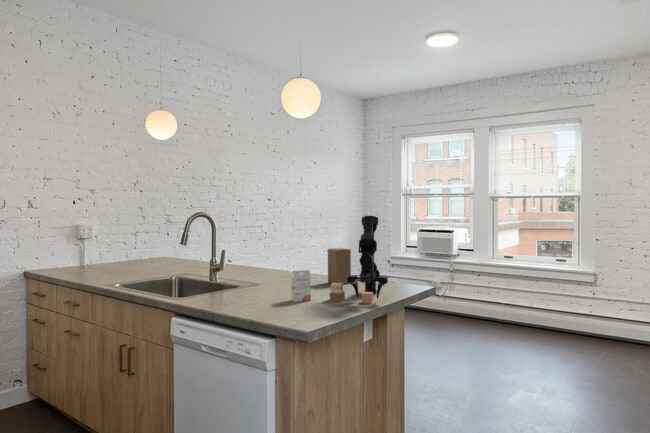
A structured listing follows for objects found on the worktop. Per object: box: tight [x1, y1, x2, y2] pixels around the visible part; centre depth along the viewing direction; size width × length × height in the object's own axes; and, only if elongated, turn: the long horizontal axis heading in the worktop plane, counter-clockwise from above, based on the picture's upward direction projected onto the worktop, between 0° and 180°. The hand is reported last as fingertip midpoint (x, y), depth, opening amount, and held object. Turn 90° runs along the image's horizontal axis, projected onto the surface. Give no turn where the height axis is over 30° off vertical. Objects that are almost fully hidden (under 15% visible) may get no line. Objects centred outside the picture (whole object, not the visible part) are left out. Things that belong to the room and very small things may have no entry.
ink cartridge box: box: [290, 269, 312, 302], centre depth 223 cm, size 9×5×15 cm, turn 105°
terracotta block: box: [361, 291, 374, 304], centre depth 217 cm, size 4×4×4 cm
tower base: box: [329, 290, 346, 303], centre depth 223 cm, size 6×6×4 cm
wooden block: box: [327, 247, 352, 285], centre depth 271 cm, size 10×10×20 cm
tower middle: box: [330, 283, 344, 293], centre depth 223 cm, size 5×5×4 cm
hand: (367, 297), depth 217 cm, fingers open, 9 cm apart
